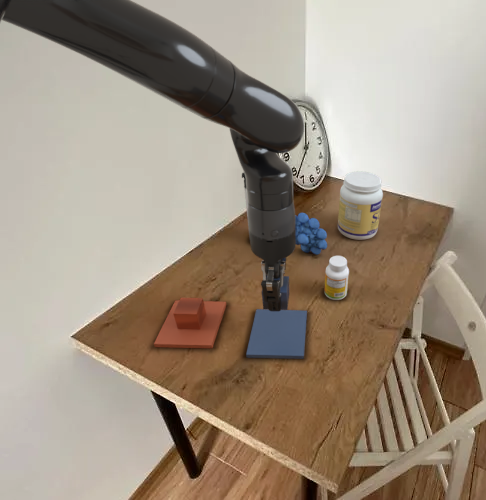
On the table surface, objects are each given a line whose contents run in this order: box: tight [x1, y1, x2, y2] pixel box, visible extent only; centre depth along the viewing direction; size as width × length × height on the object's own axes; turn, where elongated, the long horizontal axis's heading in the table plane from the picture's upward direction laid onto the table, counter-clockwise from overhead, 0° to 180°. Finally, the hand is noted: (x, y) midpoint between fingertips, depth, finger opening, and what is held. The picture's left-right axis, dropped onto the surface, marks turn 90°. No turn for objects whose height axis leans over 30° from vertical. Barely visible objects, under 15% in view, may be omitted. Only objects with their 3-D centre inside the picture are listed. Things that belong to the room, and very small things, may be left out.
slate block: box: [261, 275, 290, 310], centre depth 66 cm, size 4×4×4 cm
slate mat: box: [245, 308, 308, 360], centre depth 73 cm, size 12×11×1 cm
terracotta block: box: [173, 297, 206, 329], centre depth 72 cm, size 4×4×4 cm
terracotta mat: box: [153, 299, 227, 349], centre depth 74 cm, size 12×11×1 cm
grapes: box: [295, 212, 328, 256], centre depth 93 cm, size 12×7×12 cm, turn 70°
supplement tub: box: [337, 170, 384, 241], centre depth 102 cm, size 12×12×17 cm
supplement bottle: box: [324, 255, 350, 301], centre depth 82 cm, size 5×5×10 cm
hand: (276, 300), depth 68 cm, fingers closed on slate block, 4 cm apart
